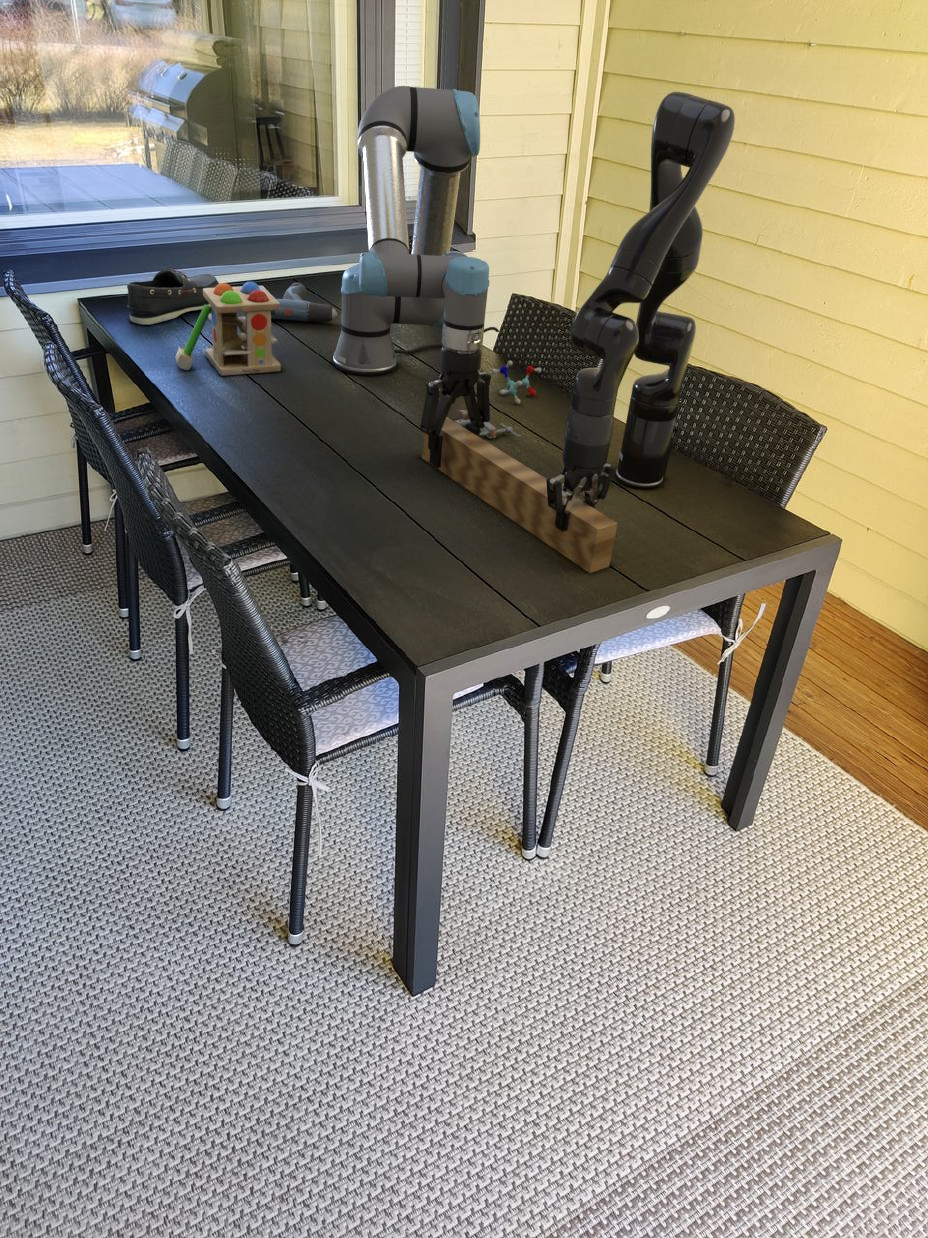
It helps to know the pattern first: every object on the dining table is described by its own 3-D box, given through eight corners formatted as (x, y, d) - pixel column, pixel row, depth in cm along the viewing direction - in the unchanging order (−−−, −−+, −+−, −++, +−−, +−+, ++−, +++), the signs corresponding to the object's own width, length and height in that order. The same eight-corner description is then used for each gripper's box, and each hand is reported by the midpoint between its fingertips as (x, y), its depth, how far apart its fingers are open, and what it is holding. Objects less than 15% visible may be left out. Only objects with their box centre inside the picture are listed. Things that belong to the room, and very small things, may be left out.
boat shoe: (239, 303, 270) (236, 264, 265) (147, 326, 246) (142, 284, 241) (205, 294, 276) (202, 256, 270) (112, 317, 252) (106, 275, 247)
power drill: (344, 304, 276) (335, 327, 259) (277, 298, 275) (264, 321, 258) (344, 285, 273) (335, 306, 256) (277, 279, 272) (264, 300, 255)
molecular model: (537, 396, 220) (523, 352, 219) (499, 410, 224) (485, 367, 222) (549, 394, 231) (536, 353, 229) (513, 408, 234) (500, 367, 233)
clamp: (446, 411, 212) (486, 405, 217) (446, 420, 214) (485, 415, 218) (482, 439, 202) (522, 432, 206) (481, 448, 203) (521, 442, 208)
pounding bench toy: (183, 379, 220) (176, 299, 210) (169, 357, 231) (162, 280, 221) (282, 371, 230) (280, 294, 220) (264, 350, 240) (262, 276, 230)
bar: (421, 457, 198) (424, 418, 193) (440, 453, 200) (443, 414, 195) (589, 573, 166) (597, 529, 161) (609, 566, 168) (617, 522, 163)
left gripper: (427, 361, 172) (420, 479, 185) (517, 346, 183) (504, 457, 196) (404, 348, 177) (398, 463, 190) (493, 333, 188) (481, 443, 201)
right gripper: (570, 451, 153) (556, 545, 163) (635, 434, 161) (617, 525, 171) (540, 433, 158) (527, 526, 168) (604, 418, 166) (588, 507, 175)
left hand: (452, 460), depth 193 cm, fingers open, 8 cm apart
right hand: (573, 525), depth 169 cm, fingers open, 5 cm apart
